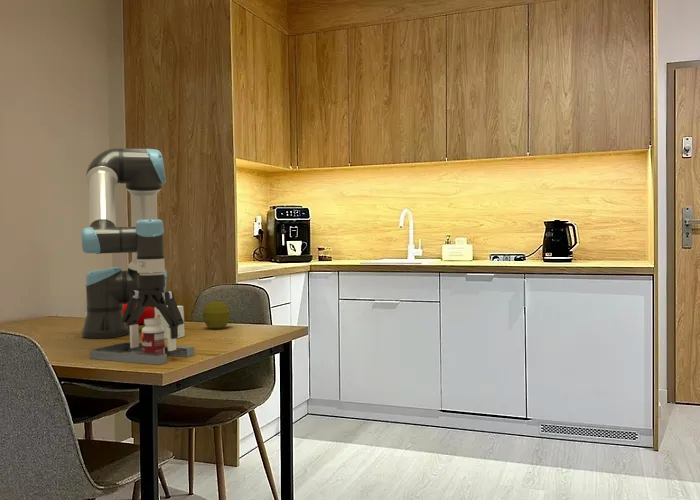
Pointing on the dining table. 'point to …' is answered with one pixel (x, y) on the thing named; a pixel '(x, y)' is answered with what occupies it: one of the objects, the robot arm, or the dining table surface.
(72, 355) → the dining table surface
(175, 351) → the grey u-shaped frame
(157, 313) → the small box
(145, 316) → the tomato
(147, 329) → the pill bottle
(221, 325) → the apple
